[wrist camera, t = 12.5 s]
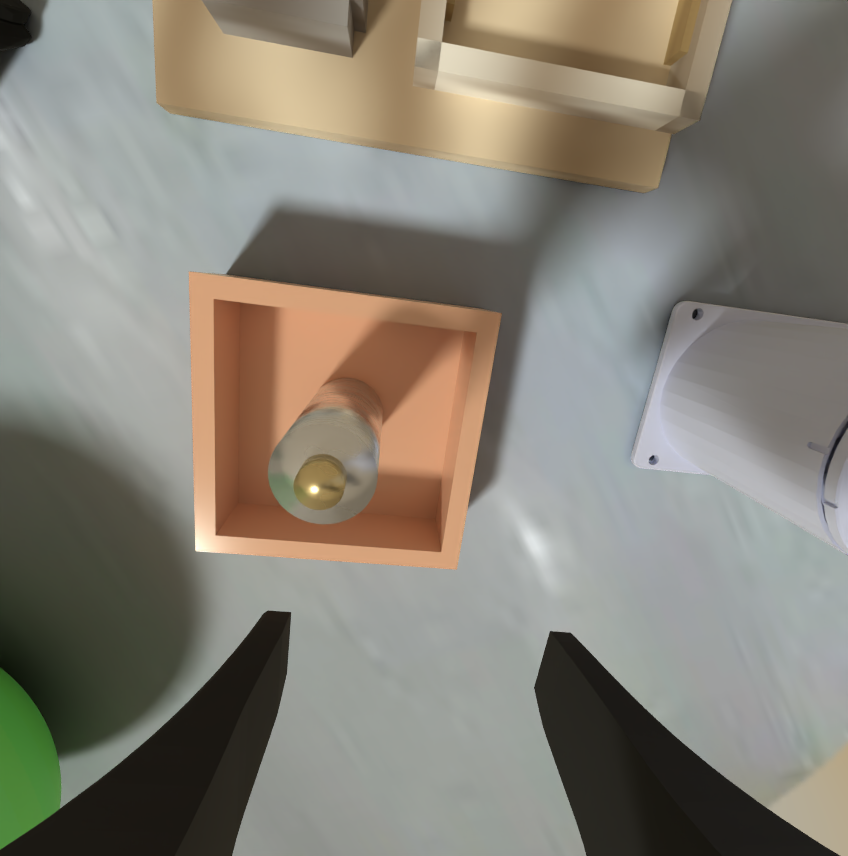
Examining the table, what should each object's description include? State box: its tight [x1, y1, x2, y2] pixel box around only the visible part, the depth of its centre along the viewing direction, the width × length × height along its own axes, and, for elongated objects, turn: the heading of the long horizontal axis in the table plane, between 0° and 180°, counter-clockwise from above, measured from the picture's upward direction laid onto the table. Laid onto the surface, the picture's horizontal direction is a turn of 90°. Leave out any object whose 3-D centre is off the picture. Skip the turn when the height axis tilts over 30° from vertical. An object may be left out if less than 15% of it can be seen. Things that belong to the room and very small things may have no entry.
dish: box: [189, 272, 502, 569], centre depth 19 cm, size 11×11×4 cm
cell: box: [268, 377, 383, 524], centre depth 16 cm, size 3×3×8 cm
